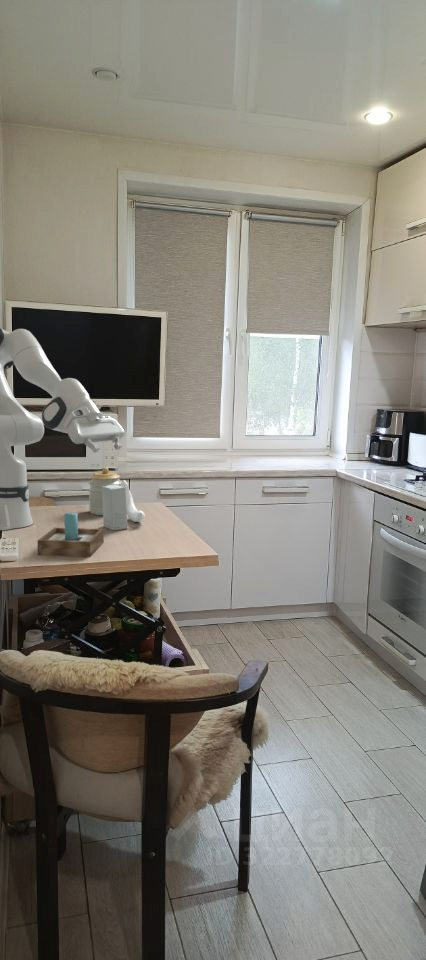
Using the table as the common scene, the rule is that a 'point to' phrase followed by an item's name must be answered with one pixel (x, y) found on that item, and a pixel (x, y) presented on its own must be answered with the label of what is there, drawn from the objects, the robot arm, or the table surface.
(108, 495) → the skincare box
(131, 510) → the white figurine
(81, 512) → the table surface
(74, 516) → the teal rectangular block
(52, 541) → the peg box
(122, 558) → the table surface
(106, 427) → the robot arm
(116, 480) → the jar
